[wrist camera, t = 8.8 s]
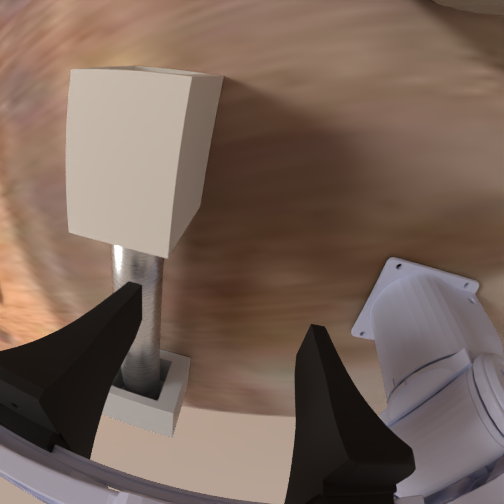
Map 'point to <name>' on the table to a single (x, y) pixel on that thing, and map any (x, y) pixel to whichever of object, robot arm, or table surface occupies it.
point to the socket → (148, 410)
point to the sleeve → (137, 153)
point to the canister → (475, 6)
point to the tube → (148, 337)
